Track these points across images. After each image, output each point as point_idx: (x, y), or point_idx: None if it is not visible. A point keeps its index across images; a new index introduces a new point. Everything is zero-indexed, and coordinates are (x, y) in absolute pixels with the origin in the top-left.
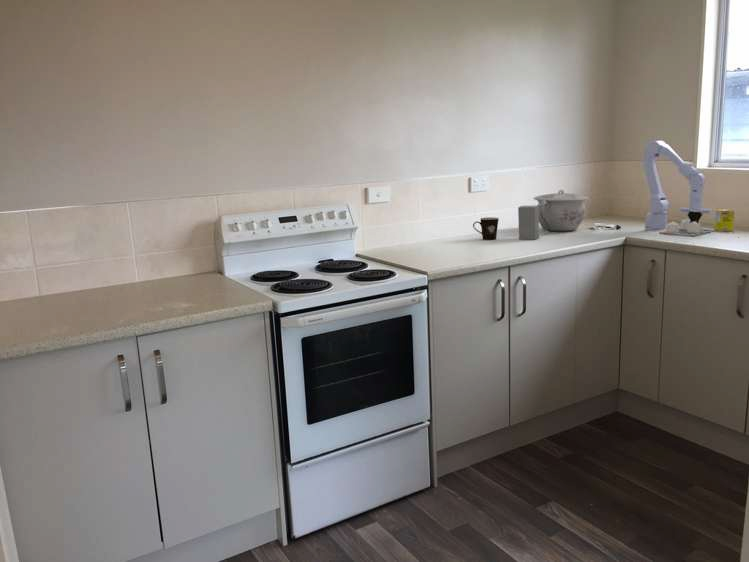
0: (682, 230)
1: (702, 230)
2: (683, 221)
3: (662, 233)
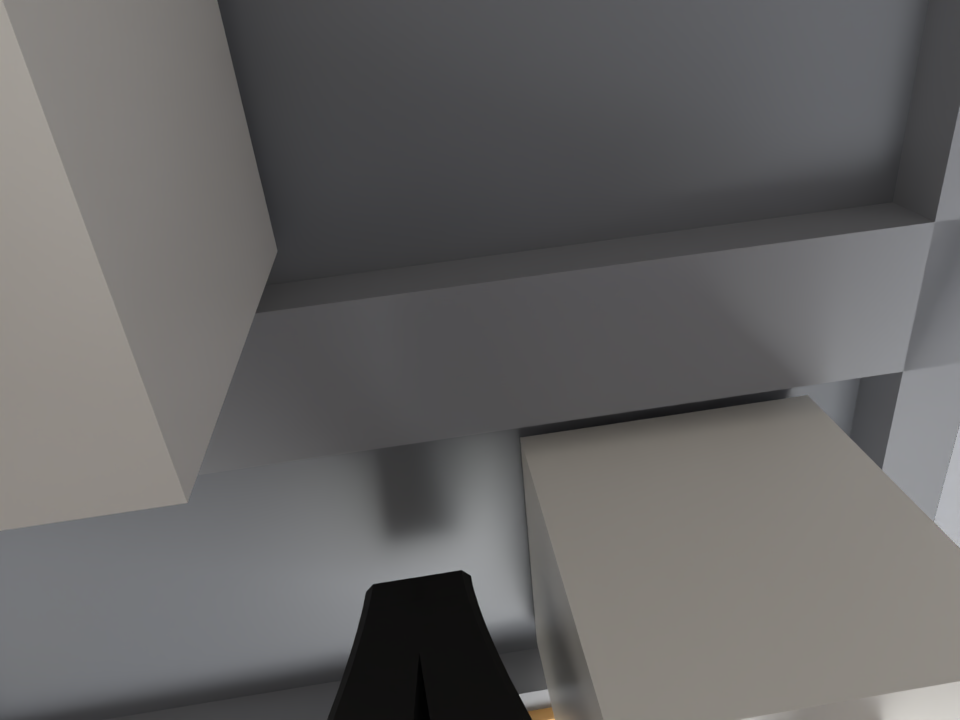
0: (658, 252)
1: (261, 709)
2: (915, 665)
3: None
